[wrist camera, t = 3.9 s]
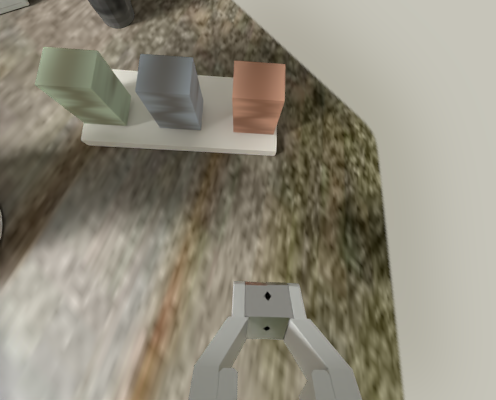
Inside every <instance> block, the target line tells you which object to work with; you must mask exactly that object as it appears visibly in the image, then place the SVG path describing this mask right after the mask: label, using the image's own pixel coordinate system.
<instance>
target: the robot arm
mask: <svg viewBox="0 0 496 400" xmlns="http://www.w3.org/2000/svg"><path fill="white" fill-rule="evenodd" d="M1 233H2V215H1V210H0V238H1ZM246 339H278V340H284V343H285V344H286V346H287V347H288V349H289V351H290V352H291V354H292V356H293V357H294V359H295V361H296V362H297V364H298V366H299V367H300V369H301V371H302V372H303V374H304V376H305V377H306V379H307V380H308V381H307V382H306V384H305V386H304V388H303V389H302V391H301V393H300V395H299V400H362V398H361V395H360V392H359V389H358V385H357V382H356V379H355V376H354V373H353V370H352V369H351V367H350V366H349V365H348V364H347V363H346V361H345V360H344V359H343V358H342V357H341V355H340V354H339V353H338V352H337V351H336V349H335V348H334V347H333V346H332V345H331V343H330V342H329V341H328V340H327V339H326V337H325V336H324V335H323V334H322V333H321V332H320V330H319V329H318V328H317V327H316V326H315V324H314V323H313V322H312V321H311V320H310V319H307V318H306V313H305V308H304V304H303V299H302V295H301V290H300V286H299V284H298V283H274V282H266V283H263V282H245V281H234V284H233V302H232V317H228V318H227V319H226V321H225V322H224V324H223V325H222V326H221V328H220V329H219V331H218V332H217V334H216V335H215V337H214V338H213V339H212V341H211V342H210V344H209V345H208V347H207V348H206V350H205V351H204V352H203V354H202V355H201V357H200V358H199V360H198V361H197V363H196V364H195V365H194V370H193V376H192V382H191V388H190V394H189V400H237V379H238V372H237V371H236V370H235V369H234V368H231V367H232V365H233V363H234V361H235V360H236V358H237V356H238V354H239V352H240V350H241V348H242V346H243V345H244V343H245V341H246Z"/></svg>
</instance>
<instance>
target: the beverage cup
mask: <svg viewBox="0 0 496 400" xmlns="http://www.w3.org/2000/svg"><path fill="white" fill-rule="evenodd" d="M88 1H89V2H90V4H91V5H92V7H93V8H94V9H95V11H96V12H97V13H98V14H99V15H100V17H101V18H102V19H103V21H104V22H105V23H106V25H108V26H110V27H112V28H123V27H126V26H127V25H129V24H130V23H131V22H132V21H133V19H134V11H133V8H132V5H131V1H130V0H88Z"/></svg>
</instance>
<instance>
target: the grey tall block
mask: <svg viewBox="0 0 496 400" xmlns="http://www.w3.org/2000/svg"><path fill="white" fill-rule="evenodd" d="M135 92H136V93H137V95H138V96H139V98H140V99H141V101H142V102H143V104H144V105H145V107H146V108H147V110H148V111H149V112H150V114H151V115H152V117H153V118H154V120H155V121H156V123H157V124H158V126H159V127H160V128H170V129H187V130H201V125H202V113H203V97H202V93H201V89H200V85H199V80H198V76H197V72H196V68H195V64H194V60H193V58H192V57H178V56H164V55H150V54H140V60H139V67H138V74H137V81H136V88H135Z"/></svg>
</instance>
